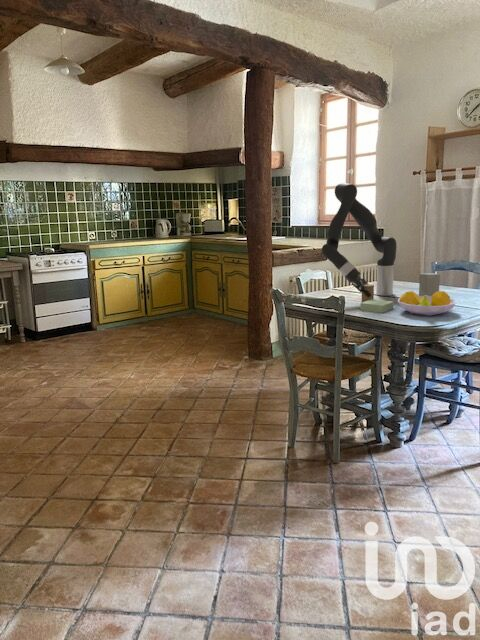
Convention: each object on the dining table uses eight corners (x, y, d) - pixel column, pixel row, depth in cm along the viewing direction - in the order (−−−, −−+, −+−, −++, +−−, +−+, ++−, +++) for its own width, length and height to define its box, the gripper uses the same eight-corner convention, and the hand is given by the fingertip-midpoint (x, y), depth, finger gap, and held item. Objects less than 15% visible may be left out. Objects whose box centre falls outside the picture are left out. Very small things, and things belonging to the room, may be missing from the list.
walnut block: (364, 302, 277) (364, 284, 275) (373, 303, 275) (373, 284, 272) (361, 304, 273) (361, 285, 271) (370, 305, 270) (371, 286, 268)
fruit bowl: (408, 305, 268) (409, 283, 265) (462, 310, 251) (464, 288, 248) (386, 315, 247) (386, 291, 244) (443, 322, 230) (445, 297, 227)
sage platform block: (371, 306, 268) (371, 299, 268) (392, 309, 261) (393, 301, 260) (360, 310, 260) (360, 303, 259) (382, 313, 252) (382, 305, 251)
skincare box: (425, 305, 266) (427, 274, 263) (417, 302, 273) (418, 273, 270) (439, 303, 269) (441, 273, 265) (431, 301, 275) (432, 272, 272)
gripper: (350, 269, 267) (372, 293, 264) (358, 265, 279) (380, 288, 276) (340, 278, 271) (362, 302, 268) (349, 275, 283) (370, 297, 280)
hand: (371, 295), depth 272 cm, fingers closed on walnut block, 5 cm apart
